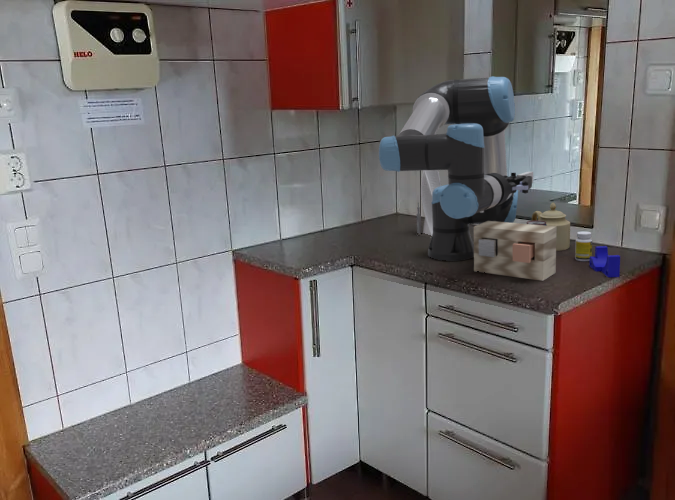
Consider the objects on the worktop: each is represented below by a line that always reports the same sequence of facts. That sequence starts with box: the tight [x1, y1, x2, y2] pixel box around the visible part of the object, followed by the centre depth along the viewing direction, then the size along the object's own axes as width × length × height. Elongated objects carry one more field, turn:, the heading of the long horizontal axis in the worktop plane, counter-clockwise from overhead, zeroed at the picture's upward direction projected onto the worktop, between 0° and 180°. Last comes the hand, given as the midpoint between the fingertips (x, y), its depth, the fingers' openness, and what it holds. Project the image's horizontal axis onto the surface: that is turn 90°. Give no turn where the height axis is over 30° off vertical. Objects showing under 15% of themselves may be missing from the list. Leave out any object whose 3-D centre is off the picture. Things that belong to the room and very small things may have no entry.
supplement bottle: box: [574, 231, 593, 262], centre depth 190 cm, size 5×5×8 cm
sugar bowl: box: [531, 202, 571, 252], centre depth 208 cm, size 15×11×15 cm
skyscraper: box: [416, 170, 442, 236], centre depth 234 cm, size 8×8×28 cm
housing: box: [473, 221, 557, 282], centre depth 182 cm, size 21×9×14 cm, turn 50°
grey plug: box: [479, 238, 498, 257], centre depth 185 cm, size 5×12×5 cm, turn 140°
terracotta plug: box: [513, 242, 535, 263], centre depth 177 cm, size 5×12×5 cm, turn 140°
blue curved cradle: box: [588, 245, 621, 278], centre depth 178 cm, size 12×4×6 cm, turn 175°
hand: (530, 177), depth 159 cm, fingers closed
